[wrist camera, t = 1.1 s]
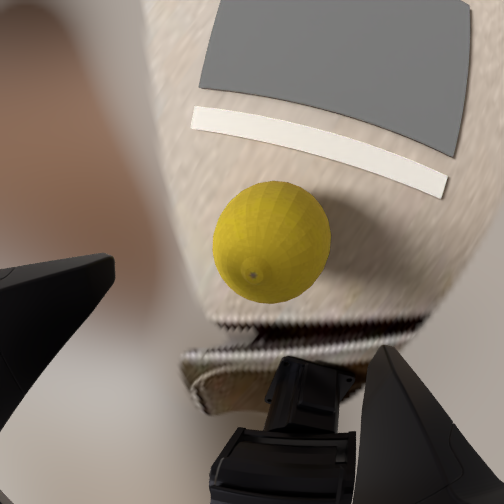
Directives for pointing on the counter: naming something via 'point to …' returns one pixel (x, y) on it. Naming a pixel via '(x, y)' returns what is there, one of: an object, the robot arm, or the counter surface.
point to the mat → (350, 60)
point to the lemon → (271, 242)
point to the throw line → (320, 146)
